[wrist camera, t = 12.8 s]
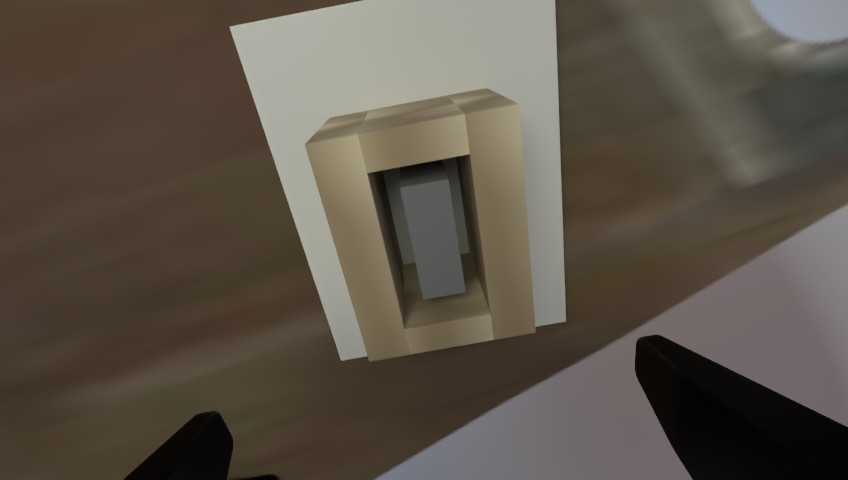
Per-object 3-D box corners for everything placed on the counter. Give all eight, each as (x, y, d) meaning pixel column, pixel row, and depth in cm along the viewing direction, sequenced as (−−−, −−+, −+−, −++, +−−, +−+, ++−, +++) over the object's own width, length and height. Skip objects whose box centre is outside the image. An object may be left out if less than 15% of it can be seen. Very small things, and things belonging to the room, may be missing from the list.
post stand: (559, 310, 23) (604, 384, 18) (343, 348, 23) (328, 431, 18) (544, -33, 16) (611, -68, 11) (239, 27, 16) (168, 20, 11)
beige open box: (486, 87, 17) (519, 103, 12) (505, 268, 20) (535, 332, 16) (329, 117, 17) (304, 144, 12) (375, 291, 20) (369, 361, 16)
